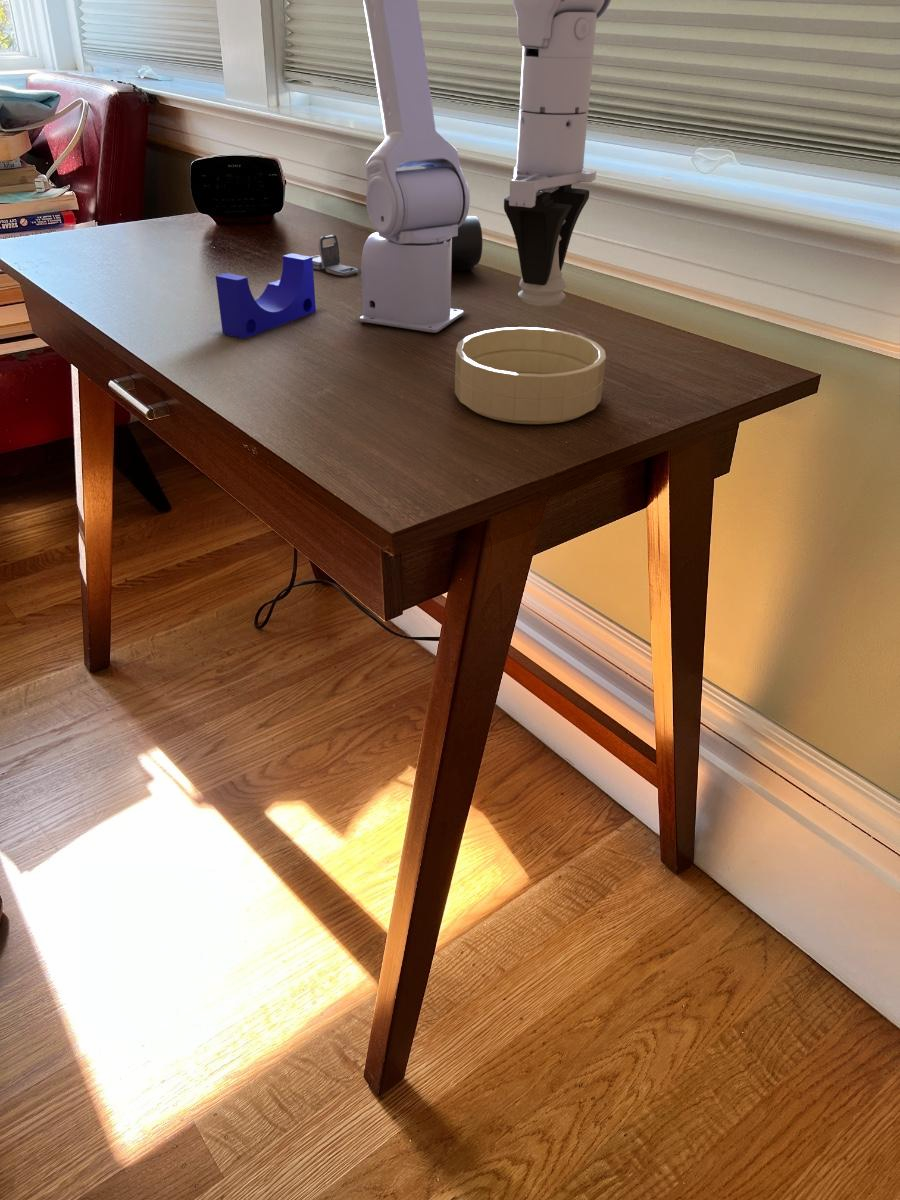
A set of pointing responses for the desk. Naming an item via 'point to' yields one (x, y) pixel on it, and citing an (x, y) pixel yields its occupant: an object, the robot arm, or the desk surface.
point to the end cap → (467, 245)
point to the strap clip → (331, 259)
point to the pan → (529, 374)
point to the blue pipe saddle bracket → (267, 299)
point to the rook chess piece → (545, 286)
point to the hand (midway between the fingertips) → (541, 278)
